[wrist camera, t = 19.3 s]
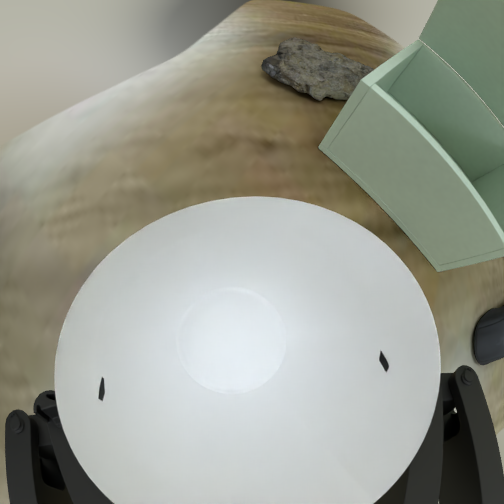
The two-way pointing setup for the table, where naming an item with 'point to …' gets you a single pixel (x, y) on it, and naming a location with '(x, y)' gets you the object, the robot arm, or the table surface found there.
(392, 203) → the chest
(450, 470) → the robot arm
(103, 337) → the cup
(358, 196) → the table surface
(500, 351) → the computer mouse
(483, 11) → the lid
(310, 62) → the stone
